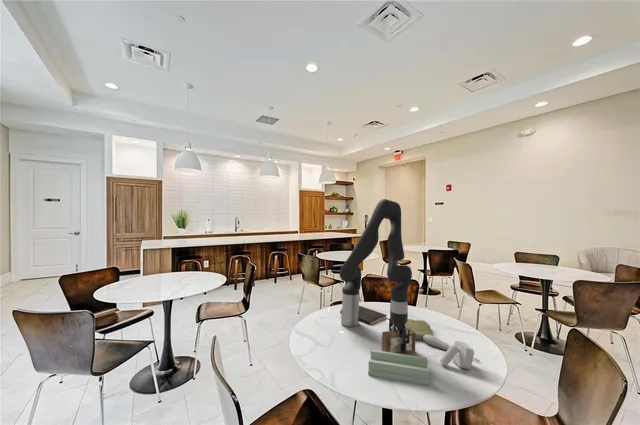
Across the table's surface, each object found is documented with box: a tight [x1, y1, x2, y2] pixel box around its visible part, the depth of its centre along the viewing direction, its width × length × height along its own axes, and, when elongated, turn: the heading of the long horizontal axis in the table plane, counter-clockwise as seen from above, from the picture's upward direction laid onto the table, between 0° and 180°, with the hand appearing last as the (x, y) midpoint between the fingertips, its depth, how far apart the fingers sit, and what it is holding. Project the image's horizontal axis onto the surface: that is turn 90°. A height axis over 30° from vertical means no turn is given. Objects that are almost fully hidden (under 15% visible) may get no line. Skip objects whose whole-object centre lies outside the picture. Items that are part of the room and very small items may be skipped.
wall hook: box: [439, 340, 475, 370], centre depth 112 cm, size 8×10×10 cm
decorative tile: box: [405, 318, 433, 342], centre depth 144 cm, size 19×20×4 cm
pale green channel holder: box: [367, 349, 431, 386], centre depth 108 cm, size 22×12×4 cm, turn 73°
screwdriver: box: [423, 334, 481, 362], centre depth 124 cm, size 5×25×4 cm, turn 40°
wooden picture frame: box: [381, 329, 416, 355], centre depth 122 cm, size 14×4×9 cm, turn 103°
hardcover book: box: [339, 305, 388, 326], centre depth 165 cm, size 16×23×2 cm
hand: (398, 346), depth 123 cm, fingers open, 7 cm apart
